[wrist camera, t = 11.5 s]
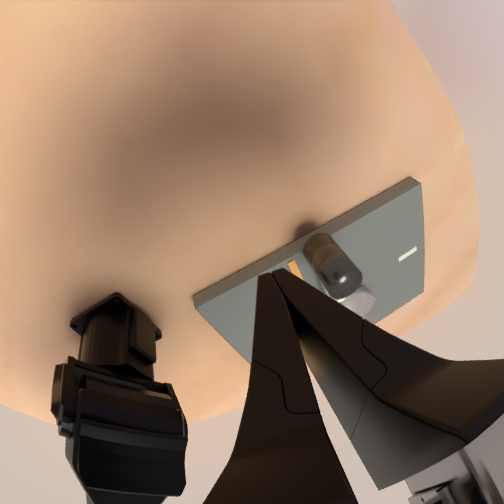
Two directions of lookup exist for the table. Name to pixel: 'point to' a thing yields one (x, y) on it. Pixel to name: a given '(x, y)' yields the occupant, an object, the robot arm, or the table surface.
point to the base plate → (357, 249)
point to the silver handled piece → (339, 276)
